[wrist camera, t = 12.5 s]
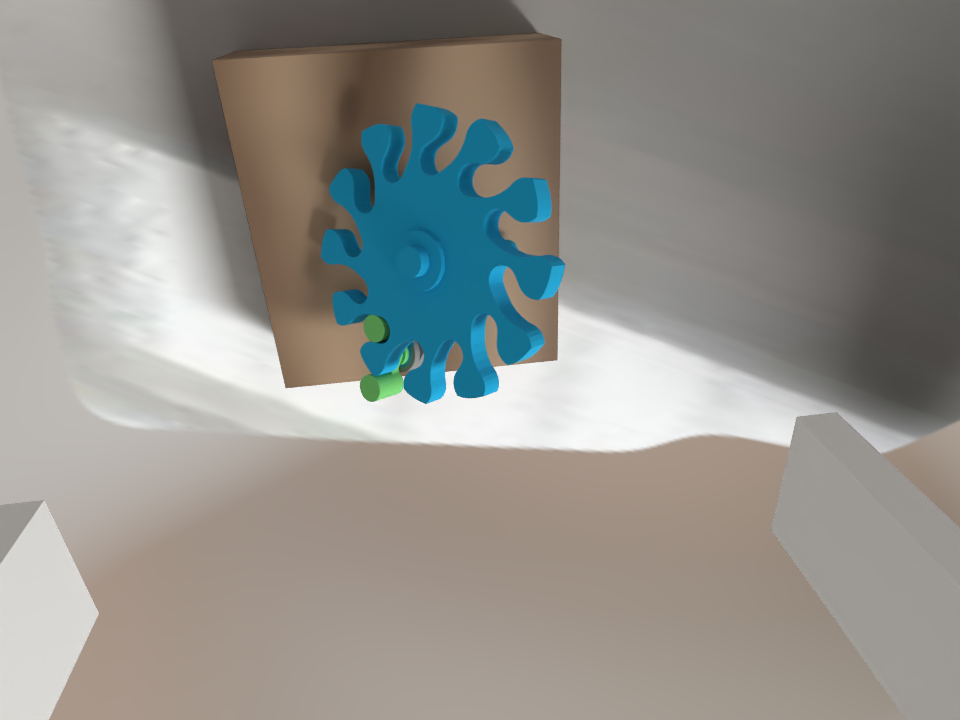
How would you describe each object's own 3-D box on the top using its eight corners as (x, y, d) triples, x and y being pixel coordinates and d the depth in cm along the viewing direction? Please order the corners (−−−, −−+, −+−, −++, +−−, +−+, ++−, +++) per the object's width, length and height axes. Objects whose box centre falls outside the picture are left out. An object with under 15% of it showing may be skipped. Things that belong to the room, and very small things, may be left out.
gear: (372, 40, 21) (604, 223, 18) (481, 71, 26) (681, 220, 22) (269, 308, 27) (430, 488, 23) (374, 293, 31) (520, 441, 28)
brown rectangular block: (538, 32, 27) (561, 38, 23) (539, 321, 33) (557, 360, 30) (235, 51, 26) (211, 60, 22) (296, 345, 32) (285, 388, 29)
